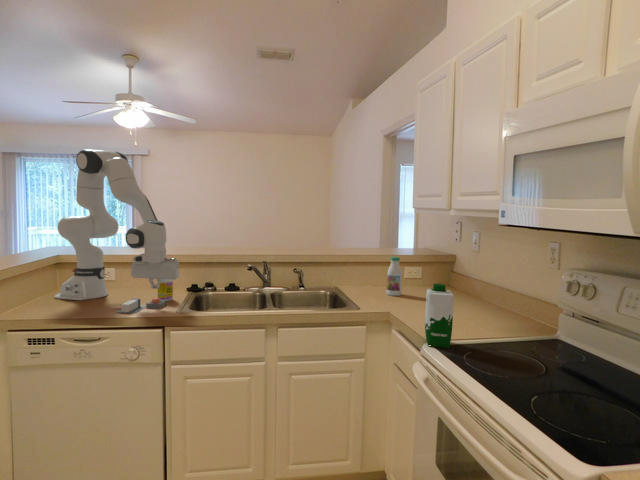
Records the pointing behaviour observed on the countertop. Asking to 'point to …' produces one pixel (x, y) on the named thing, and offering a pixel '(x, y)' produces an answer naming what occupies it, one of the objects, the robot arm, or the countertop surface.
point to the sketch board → (132, 310)
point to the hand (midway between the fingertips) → (155, 288)
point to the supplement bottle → (166, 290)
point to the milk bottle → (394, 278)
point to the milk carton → (439, 316)
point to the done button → (156, 300)
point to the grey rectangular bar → (131, 305)
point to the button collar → (155, 304)
